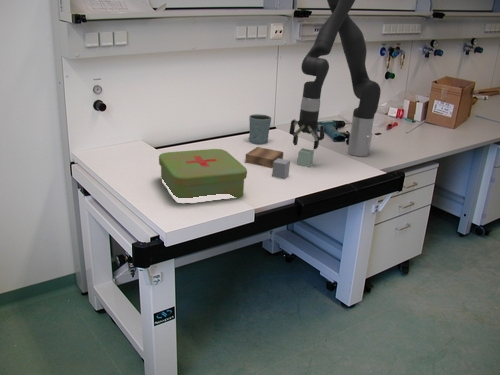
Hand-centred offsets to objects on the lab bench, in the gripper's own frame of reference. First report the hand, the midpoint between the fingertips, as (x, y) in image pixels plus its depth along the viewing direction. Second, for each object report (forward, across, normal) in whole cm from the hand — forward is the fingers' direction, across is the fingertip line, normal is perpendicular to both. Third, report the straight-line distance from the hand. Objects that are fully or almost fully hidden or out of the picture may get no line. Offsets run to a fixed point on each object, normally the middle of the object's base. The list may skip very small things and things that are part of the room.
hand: (305, 146), depth 202 cm
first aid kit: (+9, +22, +45) cm, 51 cm away
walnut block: (+8, +15, +6) cm, 18 cm away
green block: (+8, -1, 0) cm, 8 cm away
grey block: (+8, +3, +18) cm, 20 cm away
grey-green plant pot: (+8, +28, -18) cm, 34 cm away
